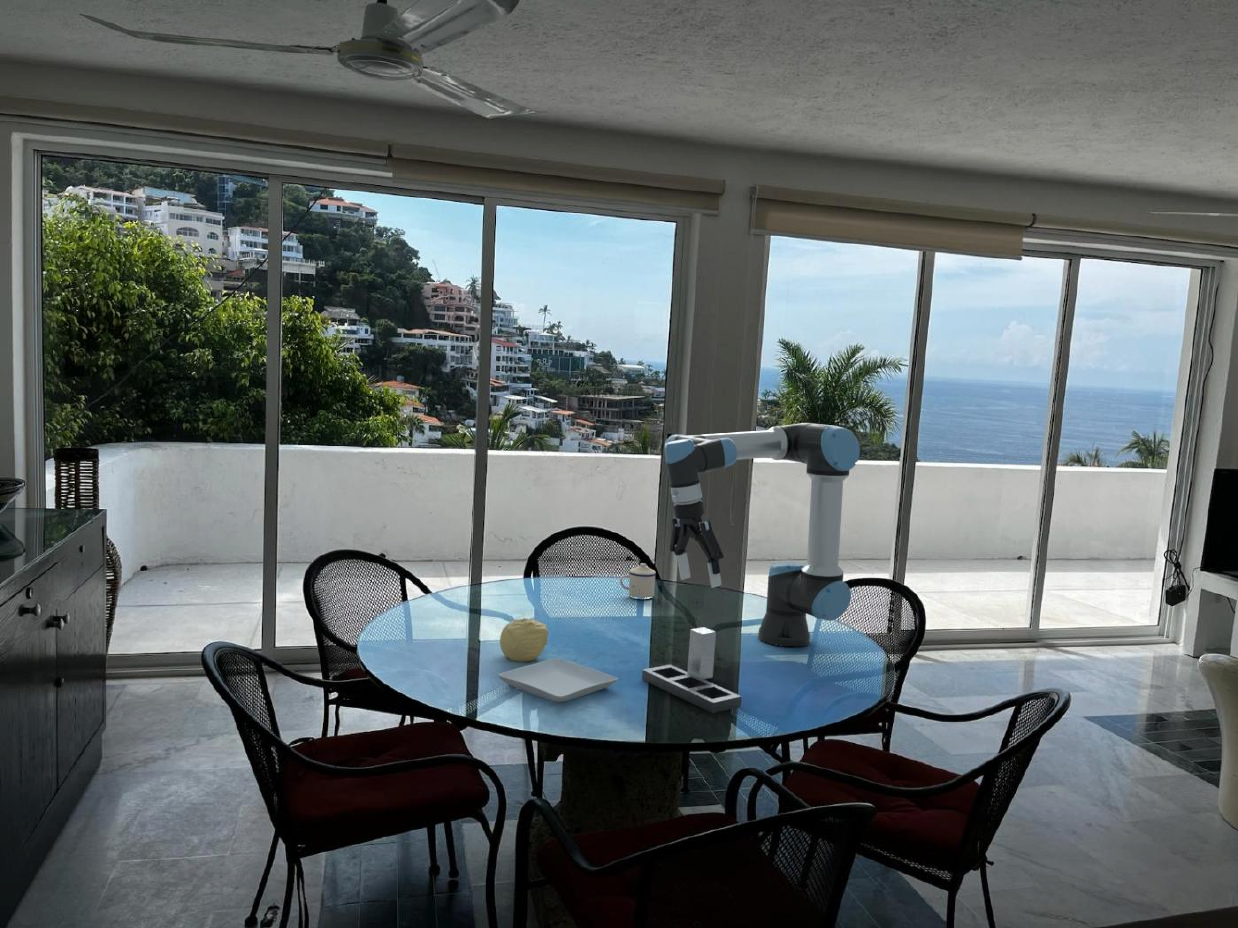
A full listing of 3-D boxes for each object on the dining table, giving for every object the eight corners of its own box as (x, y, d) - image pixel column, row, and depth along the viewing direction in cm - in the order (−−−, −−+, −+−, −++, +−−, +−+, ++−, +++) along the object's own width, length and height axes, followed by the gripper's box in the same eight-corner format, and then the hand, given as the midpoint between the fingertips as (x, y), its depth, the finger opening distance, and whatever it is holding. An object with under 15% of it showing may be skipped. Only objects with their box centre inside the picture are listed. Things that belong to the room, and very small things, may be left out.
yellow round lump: (514, 667, 241) (516, 626, 240) (491, 654, 251) (493, 614, 250) (552, 661, 248) (554, 621, 247) (529, 648, 257) (531, 610, 256)
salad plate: (555, 668, 244) (556, 655, 243) (619, 690, 230) (620, 676, 230) (494, 687, 227) (495, 673, 227) (559, 711, 214) (560, 696, 214)
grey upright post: (700, 672, 246) (703, 627, 245) (712, 677, 243) (715, 631, 241) (687, 674, 244) (690, 629, 242) (699, 680, 240) (702, 634, 239)
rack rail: (669, 673, 243) (670, 664, 243) (740, 706, 223) (741, 696, 223) (641, 679, 238) (642, 669, 238) (712, 713, 218) (713, 702, 217)
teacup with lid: (654, 595, 326) (657, 561, 325) (653, 601, 317) (656, 567, 316) (620, 592, 327) (622, 559, 325) (618, 598, 318) (620, 564, 316)
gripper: (648, 501, 248) (662, 579, 251) (704, 508, 226) (717, 593, 229) (672, 494, 251) (685, 571, 254) (729, 501, 230) (742, 585, 233)
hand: (700, 582), depth 242 cm, fingers open, 13 cm apart
